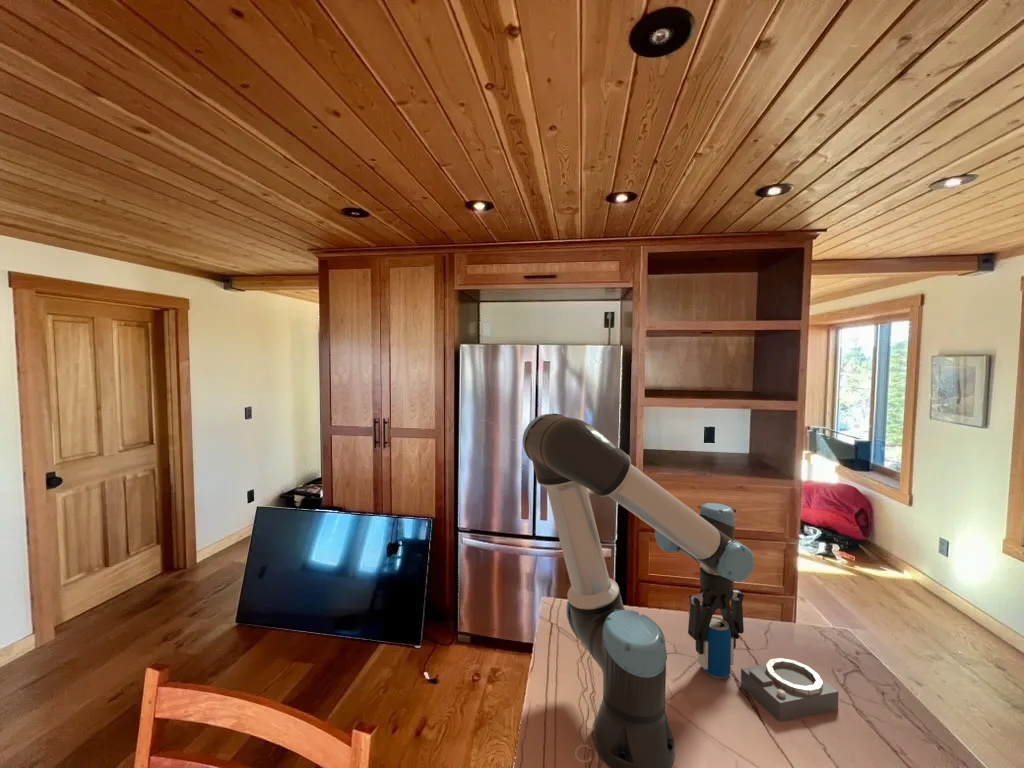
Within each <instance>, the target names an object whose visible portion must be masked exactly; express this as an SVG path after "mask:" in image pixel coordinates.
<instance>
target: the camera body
mask: <svg viewBox="0 0 1024 768" xmlns="http://www.w3.org/2000/svg"><path fill="white" fill-rule="evenodd" d="M792 660H793V661H797V662H799V661H798V660H797V659H792ZM766 664H767V663H765V664H759V665H754V666H747V667H743V668H740V686H741V687H742V688H743V689H744V690H745V691H746V692H747V693H748V694H750V695H751V696H752V697H753V698H754V699H755V700H756V701H757V702H758V703H759V704H760V705H761V706H762V707H763V708H764V709H766V710H767V711H768V712H769V713H770V714H771V715H772V716H773V717H774V718H775V719H776V720H777V721H778V722H780V723H781V722H787V721H791V720H795V719H801V718H805V717H810V716H815V715H819V714H825V713H830V712H833V711H838V710H839V691H838V690H837V689H835V688H834V687H833V686H832V685H830V684H829V683H828V682H826V681H825V680H823V679H822V678H821V680H822V681H823V688H822V690H821V692H820V694H817V695H812V696H809V695H808V696H806V695H801V694H796V693H792V692H790V691H788V690H786V689H784V688H782V687H780V686H778V685H777V684H776V683H775V682H774V681H772V680H771V679H770V678H769V677H768V674H767V672H766ZM774 672H775V673H776V674H777V675H778V676H779V677H781V678H782V679H783V680H786V681H788V682H790V683H792V684H796V685H801V686H809V685H814V681H813V679H812V678H810V677H809V676H808V675H806V674H805V673H804V672H801V671H799V670H796V669H794V668H790V667H784V666H782V667H776V668H774Z"/></svg>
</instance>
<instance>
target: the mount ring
mask: <svg viewBox="0 0 1024 768" xmlns="http://www.w3.org/2000/svg"><path fill="white" fill-rule="evenodd" d="M793 660H794V659H790V658H789V659H788V658H782V657H778V658H770V659H769V660H768V661H767V663H765V664H766V672H767V674H768V677H769V678H770V679H771V680H772V681H774V682H775V683H776V684H777V685H778V686H780V687H782V688H784V689H786V690H788V691H790V692H792V693H796V694H801V695H806V696H808V695H809V696H812V695H817V694H820V692H821V690H822V688H823V681H822V680H823V679H822V678H821V676H820V674H818V672H816V671H815V670H814V669H812V668H811V667H810V666H808V665H806V664H804V663H801V662H799V661H798V660H796V661H793ZM797 661H798V662H797ZM782 666H784V667H790V668H794V669H796V670H799V671H801V672H804V673H805V674H806V675H808V676H809V677H810V678H812V679H813V681H814V685H809V686H801V685H796V684H792V683H790V682H788V681H786V680H783V679H782V678H781V677H779V676H778V675H777V674H776V673H775V672H774V668H776V667H782ZM821 679H822V680H821Z"/></svg>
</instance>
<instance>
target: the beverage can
mask: <svg viewBox="0 0 1024 768" xmlns="http://www.w3.org/2000/svg"><path fill="white" fill-rule="evenodd" d="M705 640H706V641H707V642H708V669H706V670H705V669H704V668H703V667H702V666H701V665H700V667H701V669H702V670H703V671H704V672H705V673H706V674H707V675H708V676H710V677H712V678H714V679H720V680H721V679H725V678H727V677H729V676H730V675H731V666H732V665H731V630H730V628H729V624H728V623H727V622H726V621H725V620H723V618H721V617H719V616H714V615H712V619H711V622H710V625H709V629H708V632H707V635H706V639H705Z"/></svg>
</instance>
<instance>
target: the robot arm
mask: <svg viewBox="0 0 1024 768" xmlns="http://www.w3.org/2000/svg"><path fill="white" fill-rule="evenodd" d="M522 447H523V451H524V452H525V455H526V456H527V458H529V460H530V461H531V462H532V465H533V469H534V473H535V476H536V480H537V483H538V484H539V485H540V486H541V487H544V488H546V491H547V495H548V500H549V503H550V508H551V511H552V517H553V519H554V523H555V528H556V531H557V534H558V540H559V542H560V543H559V544H560V546H561V549H562V550H561V551H562V553H563V554H562V555H563V558H564V562H565V566H566V570H567V574H568V575H567V576H568V579H569V582H570V587H569V589H568V590H567V594H566V595H567V602H566V607H565V608H566V612H565V613H566V618H567V621H568V624H569V626H570V629H571V631H572V632H573V634H574V635H575V636H576V638H577V639H578V640H579V641H580V642H581V643H582V644H583V647H585V649H586V650H587V651H588V653H589V654H590V656H591V657H592V658H593V659H594V661H595V662H596V664H597V665H598V667H599V668H600V669H601V672H602V677H603V678H602V690H603V691H602V701H601V703H600V706H599V709H598V712H597V715H596V717H595V720H594V722H593V723H594V724H593V743H594V747H595V750H596V752H597V753H598V755H599V757H600V758H601V759H602V761H603V762H604V763H605V764H606V765H608V766H609V767H610V768H672V766H673V765H674V762H675V758H676V757H675V754H676V753H675V751H676V750H675V749H676V746H675V745H676V744H675V738H674V734H673V732H672V728H671V725H670V722H669V719H668V715H667V713H666V680H667V679H666V678H667V676H666V675H667V659H668V654H667V648H666V646H667V645H666V639H665V635H664V633H663V630H662V629H661V627H660V626H659V624H657V623H656V622H655V620H653V619H652V618H650V617H648V615H645V614H640V613H639V611H635V610H632V609H630V610H629V609H625V606H624V604H623V600H622V594H621V592H620V587H619V585H618V583H617V582H616V580H614V579H612V578H610V576H609V572H608V568H607V563H606V560H605V554H604V551H603V547H602V543H601V540H600V535H599V532H598V527H597V523H596V519H595V518H596V517H595V515H594V510H593V507H592V502H591V497H590V494H589V491H588V490H590V491H591V492H593V493H594V494H595V495H596V496H599V497H600V498H605V497H609V498H610V499H612V500H613V501H614V502H616V503H618V504H619V505H620V506H622V508H624V509H626V510H627V511H628V512H630V513H631V514H633V515H634V516H635V517H637V518H638V519H639V520H641V521H643V522H644V523H645V524H647V525H649V526H650V527H651V528H653V529H654V537H655V538H654V539H655V541H656V544H657V545H658V547H659V549H661V550H662V551H663V552H665V553H674V554H675V553H679V552H680V553H683V554H684V555H685V556H687V557H689V558H691V559H692V560H694V561H696V562H698V563H699V566H700V567H699V583H700V590H699V592H698V594H694V595H693V594H691V593H690V594H689V595H688V600H689V615H688V617H689V618H688V627H687V628H688V629H687V634H688V635H689V636H690V637H691V638H692V639H693V640H695V651H696V652H697V663H698V664H699V665H700V667H701V666H702V667H703V668H704V669H705V670H706V669H708V642H707V641H706V640H705V639H706V635H707V632H708V629H709V625H710V622H711V619H712V616H715V613H716V611H717V610H719V611H720V613H721V617H722V619H723V620H725V621H726V622H727V623H728V624H729V628H730V630H731V666H733V665H734V661H735V659H734V655H735V653H734V652H735V651H734V650H736V646H737V645H736V644H737V640H739V639H740V634H743V633H744V631H745V630H744V629H745V628H744V614H743V613H744V612H743V611H744V610H743V601H744V598H745V597H744V596H745V595H744V593H742V592H741V591H740V590H738V589H737V588H735V583H740V582H743V581H745V580H747V579H748V578H750V576H751V574H752V571H753V570H754V567H755V556H754V554H753V552H752V550H751V549H750V548H749V547H748V546H746V545H744V544H742V542H740V541H738V540H735V537H736V534H735V533H736V520H735V518H736V517H735V511H734V510H733V508H731V507H730V506H728V505H726V504H723V503H715V502H707V503H703V504H701V506H700V510H699V514H698V513H697V512H695V510H694V509H692V508H690V506H687V504H685V503H683V501H681V500H680V499H678V498H677V497H676V496H674V495H673V494H672V493H670V492H669V491H667V490H666V489H665V488H664V487H662V486H661V485H660V484H659V483H657V482H656V481H654V480H653V479H652V478H650V477H649V476H648V475H646V474H645V473H644V472H642V471H641V470H640V469H639V468H638V467H636V466H634V465H633V464H632V460H631V457H630V455H629V454H627V453H626V452H625V451H624V450H623V449H621V448H620V447H618V446H617V444H615V443H614V442H612V441H611V440H610V439H609V438H607V437H606V436H605V435H604V434H603V433H601V432H600V430H597V429H596V428H595V427H594V426H592V425H591V424H589V423H588V422H586V421H584V420H582V419H579V418H574V417H568V416H565V415H562V414H559V413H545V414H540V415H538V416H536V417H535V418H534V419H532V420H531V421H530V422H529V423H528V425H527V426H526V428H525V429H524V432H523V435H522ZM702 667H701V668H702Z"/></svg>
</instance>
